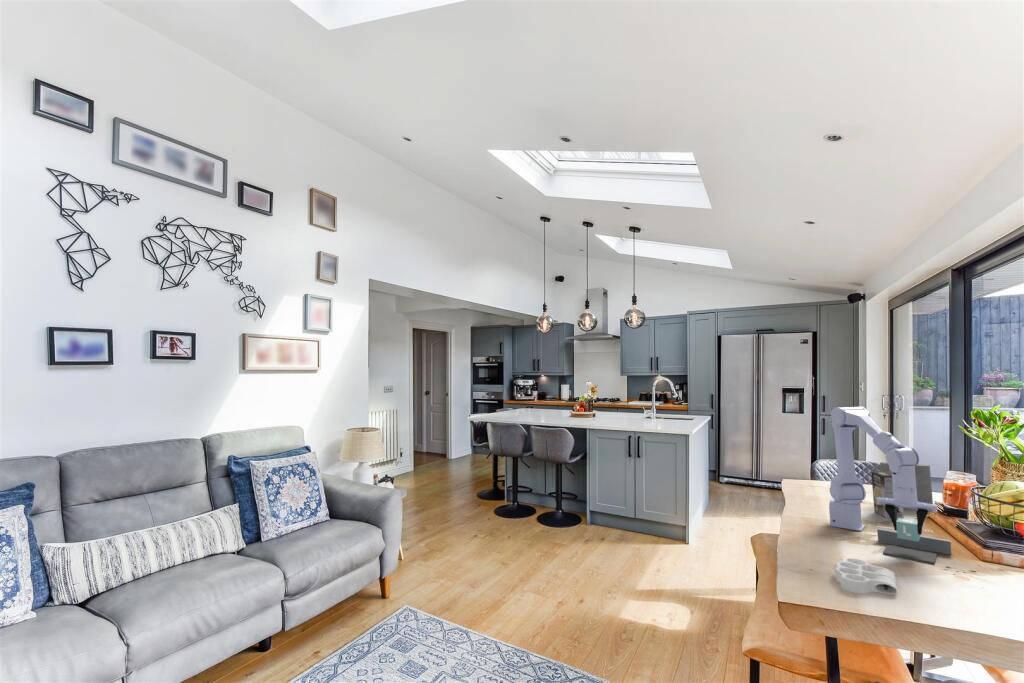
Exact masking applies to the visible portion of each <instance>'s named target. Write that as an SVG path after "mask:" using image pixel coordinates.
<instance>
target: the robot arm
mask: <svg viewBox="0 0 1024 683" xmlns="http://www.w3.org/2000/svg"><path fill="white" fill-rule="evenodd" d="M830 420H831V427H832V429H833V430H834V432H833V434H834V442H835V454H836V455H835V456H836V465H837V466H836V468H837V474H836V475H835V476H834V477H832V478H830V487H829V493H830V497H831V498H832V499H830V500H829V504H828V511H829V526H830V527H834V528H839V529H846V530H852V531H857V532H862V531H863V529H864V528H865V527H866V524H865V523H864V524H863V522H862V519H863V518H862V508H861V504H863V501H864V500H865V499H866V496H867V495H866V494H867V493H866V492H867V491H866V489H865V486H864V481H863V480H862V479H861V478H859V477H858V476H857V475H856V468H855V467H856V466H855V458H854V445H853V435H852V433H853V431H854V430H856V429H857V428H860V429H862V431H864V433H866V434H868V436H870V437H871V438H872V443H873V444H874V446H876V447H877V449H879V450H880V452H881V453H883V454H884V455H885V460H886V461H885V462H887V463H888V464H889V469H890V471H892V482H893V495H894V498H881V497H877V498H876V502H877V504H878V505H885V510H886V512H887V513H888V515H889V517H890V518H889V519H890V520H891V522H892V525H893V528H894V531H897V526H896V521H897V519H898V518H897V507H903V509H908V508H910V509H909V510H916V521H918V534H919V535H922V533H923V526H924V522H925V520H926V517H928V516H927V515H928V513H929V512H932V513H938V505H937V504H934V503H933V504H928V503H923V502H918V501H917V490H916V478H915V466H917V465H918V464H919V463H920V457H919V454H918V452H917V450H916V449H915V448H913V447H909V446H907V445H903V443H901V442H900V441H899V440H898V439H897V438H896V437H895V436H894V435H893V434H892V433H891V432H889V431H883V430H882V429H881V428H880V427H879V425H877V424H876V422H875V421H874V420H872V418H871V413H870V411H869V410H867V409H866V408H865V407H864V406H850V407H849V406H843V407H841V406H840V407H839V406H836V407H834V408H833V409H832V411H831V412H830Z"/></svg>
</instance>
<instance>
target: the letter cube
mask: <svg viewBox="0 0 1024 683" xmlns="http://www.w3.org/2000/svg"><path fill="white" fill-rule="evenodd" d="M896 526H897V538H900V539H906V540H912V541H917V542H918V541H919V539H920V535H919V534H918V521H917V520H916V519H909V518H907V519H906V518H904V519H902V518H897V521H896Z"/></svg>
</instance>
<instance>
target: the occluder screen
mask: <svg viewBox="0 0 1024 683" xmlns="http://www.w3.org/2000/svg"><path fill="white" fill-rule="evenodd" d="M876 531H877V542H878V543H884V544H887V545H893V546H899V547H904V548H909V549H915V550H920V551H925V552H931V553H936V554H943V555H949V556H952V545H951V543H952V542H951V540H950V539H944V538H938V537H933V536H928V535H927V536H926V535H922V534H921V535H920V539H919V541H918V542H917V541H912V540H906V539H900V538H897V531H895V530H892V529H885V528H881V527H878V528H877V529H876Z"/></svg>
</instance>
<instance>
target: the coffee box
mask: <svg viewBox="0 0 1024 683" xmlns="http://www.w3.org/2000/svg"><path fill="white" fill-rule="evenodd" d="M871 483H872V497H873V499H872V501H873V510H874V512H875V513H876V514H878V515H880V516H882V517H884V518H885V519H890V517H889V515H888V513H887V512H886V510H885V505H878V504H877V502H876V498H877V497H881V498H894V495H893V482H892V473H891V472H889V471H881V470H880V471H878V470H877V471H876V470H875V471H874V470H872V471H871ZM904 516H905V515H904V508H903V507H897V519H898V518H902V519H905V517H904Z"/></svg>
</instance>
